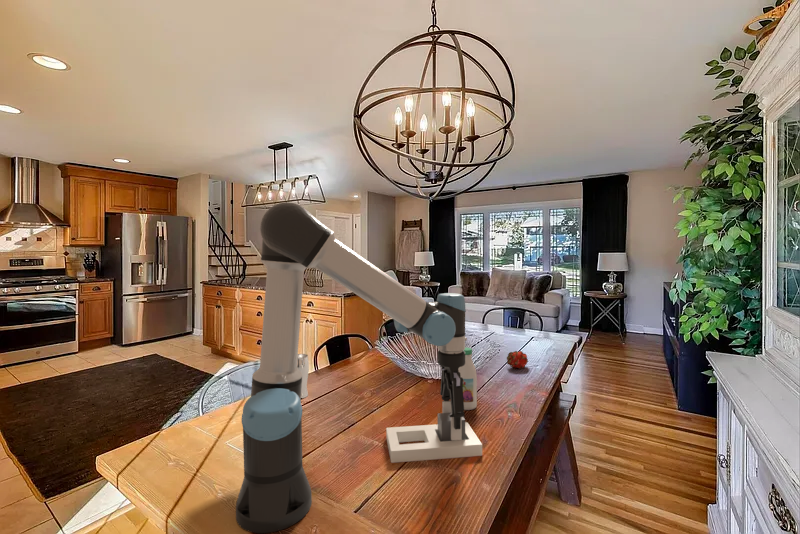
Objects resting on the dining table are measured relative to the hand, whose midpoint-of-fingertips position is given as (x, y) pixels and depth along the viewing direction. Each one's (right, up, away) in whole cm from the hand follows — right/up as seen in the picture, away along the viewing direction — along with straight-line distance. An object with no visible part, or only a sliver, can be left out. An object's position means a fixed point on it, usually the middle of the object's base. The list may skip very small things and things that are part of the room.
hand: (451, 431), depth 106 cm
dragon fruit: (+39, -1, +69) cm, 79 cm away
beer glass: (-52, -3, +37) cm, 63 cm away
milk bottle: (+8, -3, +26) cm, 28 cm away
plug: (0, -4, 0) cm, 4 cm away
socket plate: (-5, -4, -1) cm, 7 cm away
